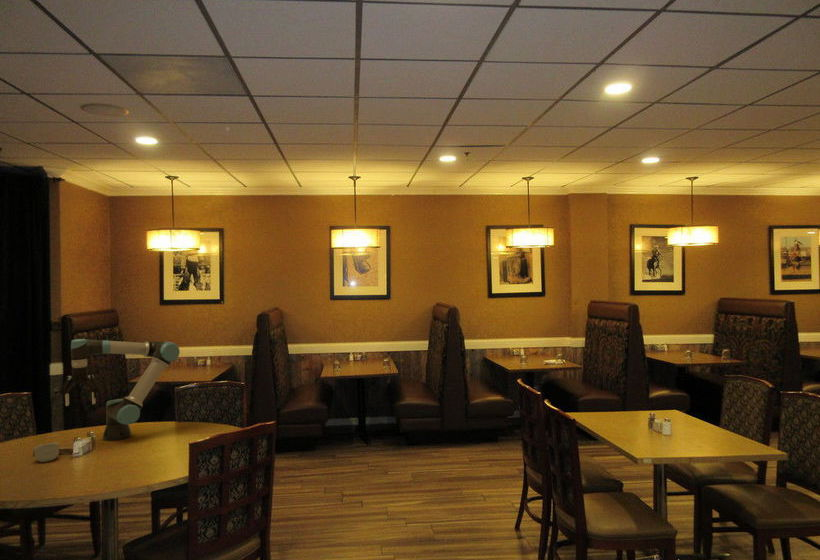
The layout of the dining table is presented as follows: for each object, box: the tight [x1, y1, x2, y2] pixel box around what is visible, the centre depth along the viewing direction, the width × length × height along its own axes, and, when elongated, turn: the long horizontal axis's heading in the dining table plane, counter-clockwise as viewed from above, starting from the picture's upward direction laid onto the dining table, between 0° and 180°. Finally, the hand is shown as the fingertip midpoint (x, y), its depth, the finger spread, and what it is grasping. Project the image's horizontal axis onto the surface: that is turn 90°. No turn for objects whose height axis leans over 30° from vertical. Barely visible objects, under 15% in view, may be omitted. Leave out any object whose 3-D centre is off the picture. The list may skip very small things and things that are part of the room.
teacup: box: [33, 441, 60, 463], centre depth 284 cm, size 14×11×8 cm
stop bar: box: [32, 446, 74, 457], centre depth 293 cm, size 22×3×3 cm, turn 99°
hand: (80, 404), depth 301 cm, fingers open, 13 cm apart
